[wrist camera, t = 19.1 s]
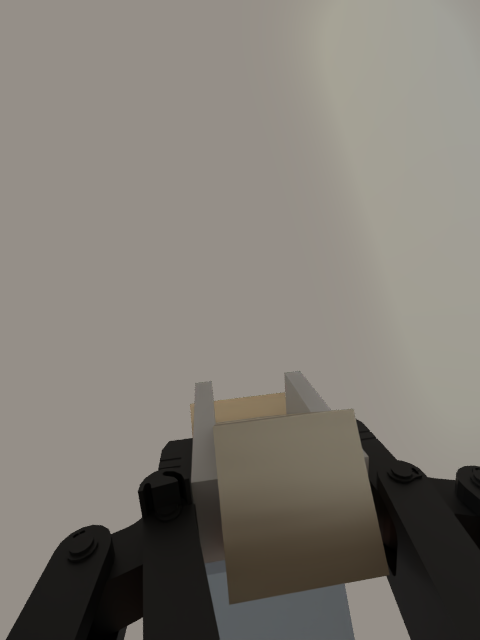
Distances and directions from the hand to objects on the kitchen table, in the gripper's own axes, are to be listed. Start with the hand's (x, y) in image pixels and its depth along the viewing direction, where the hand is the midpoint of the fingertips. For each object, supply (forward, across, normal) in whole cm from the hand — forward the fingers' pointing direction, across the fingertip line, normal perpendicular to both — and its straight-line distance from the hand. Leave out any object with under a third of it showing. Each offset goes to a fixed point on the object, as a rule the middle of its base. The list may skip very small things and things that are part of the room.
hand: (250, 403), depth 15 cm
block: (+2, 0, -6) cm, 6 cm away
